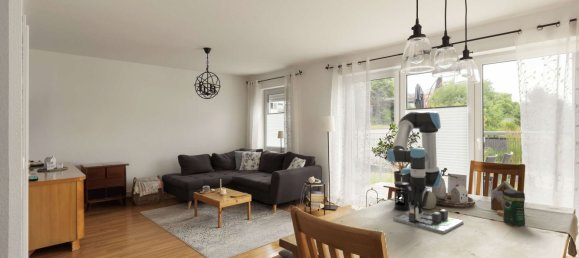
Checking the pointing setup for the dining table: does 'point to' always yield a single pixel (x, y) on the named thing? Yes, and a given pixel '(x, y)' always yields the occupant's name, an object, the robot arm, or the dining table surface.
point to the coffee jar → (514, 207)
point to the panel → (430, 222)
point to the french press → (405, 200)
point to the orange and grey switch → (412, 216)
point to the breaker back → (444, 214)
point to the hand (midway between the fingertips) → (418, 219)
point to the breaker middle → (436, 217)
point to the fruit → (430, 200)
